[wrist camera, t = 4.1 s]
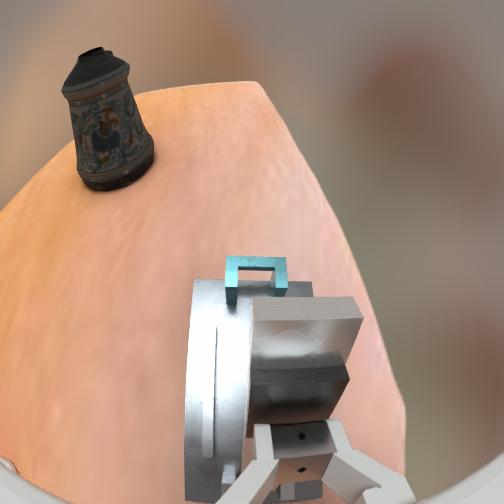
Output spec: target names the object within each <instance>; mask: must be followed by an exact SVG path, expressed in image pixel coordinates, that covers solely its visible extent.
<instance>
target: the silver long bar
mask: <svg viewBox="0 0 504 504" xmlns="http://www.w3.org/2000/svg"><path fill="white" fill-rule="evenodd" d="M363 318H364V317H363V315H362V314H361V312H360V310H359V308H358V306H357V304H356V302H355V300H354V298H353V297H252V309H251V324H250V340H249V356H248V372H247V387H246V403H245V418H244V433H243V448H242V463H241V474H242V472H243V471H244V470H245V469H246V468H247V466H248V465H249V464H250V463H251V461H252V460H253V456H252V449H253V431H254V424H285V423H298V422H308V421H317V420H327V419H329V417H330V415H331V414H332V412H333V410H334V408H335V406H336V405H337V403H338V401H339V399H340V397H341V395H342V394H343V392H344V390H345V388H346V386H347V384H348V382H349V380H350V378H349V375H348V372H347V369H346V366H345V364H346V361H347V359H348V357H349V354H350V352H351V349H352V347H353V345H354V342H355V339H356V337H357V334H358V332H359V329H360V327H361V324H362V321H363ZM278 486H279V484H274V486H273V487H272V489H271V491H270V492H269V493H274V491H275V490H276V489H277V487H278Z"/></svg>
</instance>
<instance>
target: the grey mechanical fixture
mask: <svg viewBox="0 0 504 504" xmlns="http://www.w3.org/2000/svg"><path fill="white" fill-rule="evenodd" d="M238 270H259V271H273V272H272V276H271V280H270V281H242V280H238ZM252 297H313V290H312V282H293V281H288V280H287V267H286V257H250V256H227V260H226V278H225V280H210V279H194V287H193V297H192V308H191V319H190V331H189V345H188V360H187V377H186V399H185V440H184V467H185V501H194V502H205V503H216V502H217V501H218V500H219V499H220V498H221V497H222V496H223V495H224V494H225V492H226V491H227V490H228V489H229V488H230V487H231V486H232V484H233V483H234V482H235V481H236V480H237V479H238V477H239V476H240V475H241V463H242V448H243V433H244V418H245V403H246V387H247V372H248V356H249V340H250V324H251V309H252ZM321 497H322V480H321V479H318V480H310V481H300V482H291V483H281V484H279V486H278V487H277V489H276V490H275V491H274V493H269V494H268V495H267V497H266V498H265V500H264V501H263V503H262V504H266V503H281V502H292V501H301V500H308V499H315V498H321Z"/></svg>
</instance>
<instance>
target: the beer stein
mask: <svg viewBox="0 0 504 504" xmlns="http://www.w3.org/2000/svg"><path fill="white" fill-rule="evenodd" d="M129 69H130V66H129V64H128V63H126V62H125V61H123V60H121V59H119V58H117V57H115V56H113V53H112V51H105V50H104V49H103V47H98V48H95V49H92V50H89V51H87V52H85V53H83V54H81V55H80V56H79V57H78V61H77V64H76V65H75V67H74V68H73V70H72V71H71V73H70V74H69V76H68V78H67V79H66V81H65V82H64V85H63V87H62V93H63V95H64V97H65V98H66V99H67V100H68V103H69V108H70V115H71V121H72V128H73V134H74V140H75V146H76V155H77V171H78V174H79V175H80V177H81V178H82V179H83V181H84V182H85V184H86V185H87V186H88V187H90V188H91V189H93V190H95V191H111V190H115V189H119V188H123V187H127V186H128V185H129V184H131V183H132V182H134V181H135V180H136V179H138V178H139V177H141V176H142V175H144V174H145V172H146V171H147V169H148V168H149V167H150V165H151V164H152V163H153V150H154V142H153V139H152V137H151V135H150V134H149V133H148V132H147V130H146V129H145V127H144V125H143V122H142V119H141V116H140V114H139V111H138V108H137V104H136V102H135V100H134V97H133V94H132V92H131V89H130V86H129V84H128V81H127V77H128V75H129Z"/></svg>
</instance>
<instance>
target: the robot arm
mask: <svg viewBox="0 0 504 504" xmlns="http://www.w3.org/2000/svg"><path fill="white" fill-rule="evenodd" d="M252 456H253V460H252V461H251V463H250V464H249V465H248V466H247V468H246V469H245V470H244V471H243V472H242V474H241V475H240V476H239V477H238V479H237V480H236V481H235V482H234V483H233V484H232V486H231V487H230V488H229V489H228V490H227V491H226V492H225V494H224V495H223V496H222V497H221V498H220V499H219V500H218V501H217V502H216V503H215V504H262V503H263V501H264V500H265V498H266V497H267V495H268V494H269V492H270V491H271V489H272V487H273V486H274V484H281V483H291V482H300V481H310V480H318V479H321V480H322V481H323V482H324V483H325V484H326V485H327V486H328V487H329V488H330V489H332V490H333V491H334V492H335V493H336V494H337V495H338V496H340V497H341V498H342V499H343V500H344V501H346V502H347V503H348V504H504V451H503V452H501V453H500V454H499V455H498V456H496V457H495V458H493V459H492V460H491V461H489V462H488V463H487V464H485V465H484V466H482V467H481V468H479V469H478V470H476V471H475V472H473V473H471V474H470V475H468V476H467V477H465V478H463V479H462V480H460V481H458V482H457V483H455V484H453V485H451V486H450V487H448V488H446V489H444V490H442V491H440V492H438V493H436V494H434V495H432V496H430V497H428V498H426V499H424V500H422V501H419V502H417V501H416V499H415V496H414V495H413V492H412V491H411V489H410V487H409V485H408V483H407V481H406V479H405V477H404V476H402V475H400V474H398V473H396V472H395V471H393V470H391V469H389V468H388V467H386V466H384V465H382V464H381V463H379V462H377V461H375V460H374V459H372V458H370V457H369V456H367V455H366V454H364V453H362V452H361V451H359V450H357V449H352V447H351V444H350V442H349V440H348V437H347V435H346V432H345V430H344V428H343V425H342V423H341V420H340V419H339V418H334V419H327V420H317V421H308V422H298V423H285V424H254V431H253V449H252ZM0 504H73V503H71V502H68V501H66V500H64V499H62V498H60V497H58V496H56V495H54V494H52V493H50V492H48V491H46V490H44V489H42V488H41V487H39V486H37V485H35V484H33V483H32V482H30V481H28V480H27V479H25V478H23V477H22V476H20V475H19V474H18V473H17V471H16V469H15V467H14V465H13V464H12V462H11V461H9V460H7V459H5V458H2V457H0Z"/></svg>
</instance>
